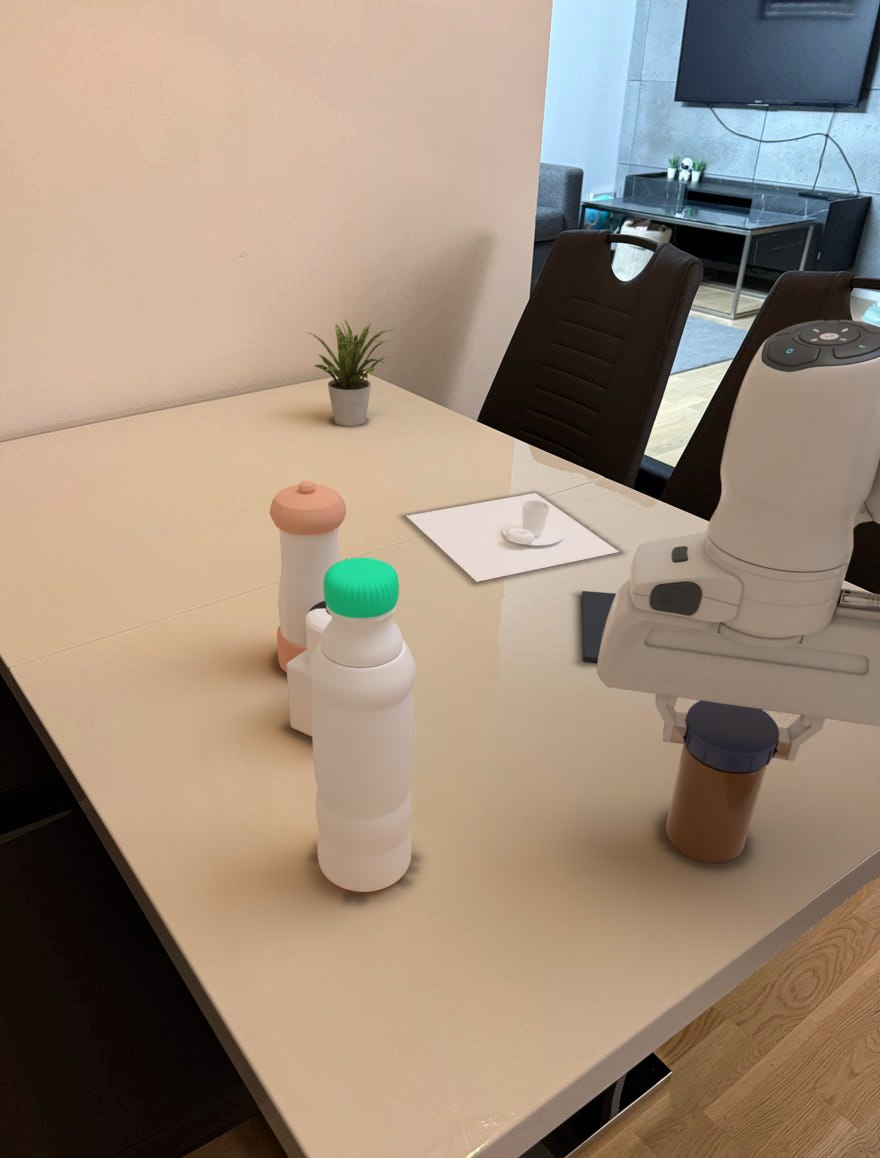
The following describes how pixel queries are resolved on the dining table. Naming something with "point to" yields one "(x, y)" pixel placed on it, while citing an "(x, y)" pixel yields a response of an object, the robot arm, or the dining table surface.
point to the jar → (711, 809)
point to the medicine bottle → (305, 671)
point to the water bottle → (362, 729)
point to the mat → (594, 621)
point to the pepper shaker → (304, 557)
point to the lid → (731, 736)
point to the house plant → (350, 376)
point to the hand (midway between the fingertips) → (726, 746)
